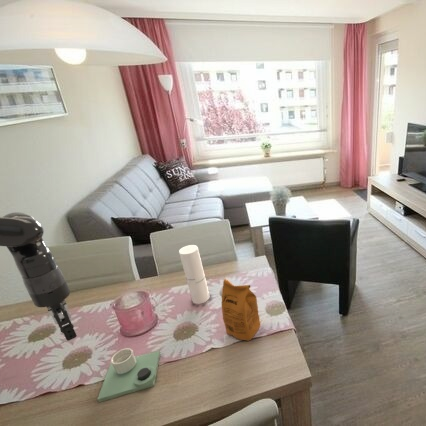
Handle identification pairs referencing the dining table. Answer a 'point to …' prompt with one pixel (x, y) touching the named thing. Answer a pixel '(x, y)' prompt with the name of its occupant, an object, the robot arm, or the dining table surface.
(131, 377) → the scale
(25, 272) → the robot arm
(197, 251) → the cylindrical container
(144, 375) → the button
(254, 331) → the coffee package
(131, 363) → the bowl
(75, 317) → the dining table surface
